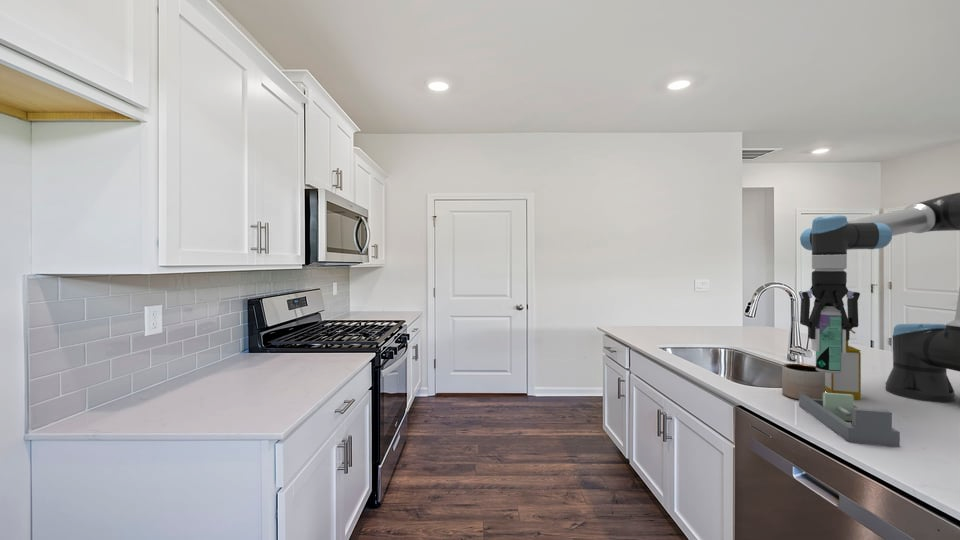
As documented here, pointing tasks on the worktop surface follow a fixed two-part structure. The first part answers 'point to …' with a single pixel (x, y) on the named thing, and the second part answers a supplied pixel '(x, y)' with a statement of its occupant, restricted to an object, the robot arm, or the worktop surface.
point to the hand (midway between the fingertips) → (828, 350)
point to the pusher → (839, 404)
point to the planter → (802, 381)
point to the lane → (856, 423)
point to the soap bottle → (846, 374)
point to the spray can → (829, 340)
